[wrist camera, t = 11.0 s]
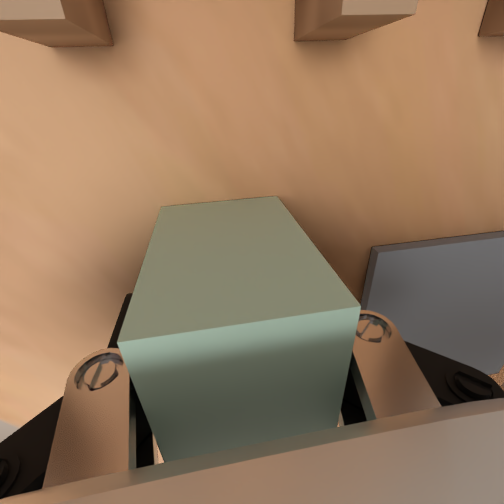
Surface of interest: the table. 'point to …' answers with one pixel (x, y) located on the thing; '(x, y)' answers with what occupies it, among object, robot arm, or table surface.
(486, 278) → the pad
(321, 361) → the block
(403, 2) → the rack
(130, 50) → the table surface
